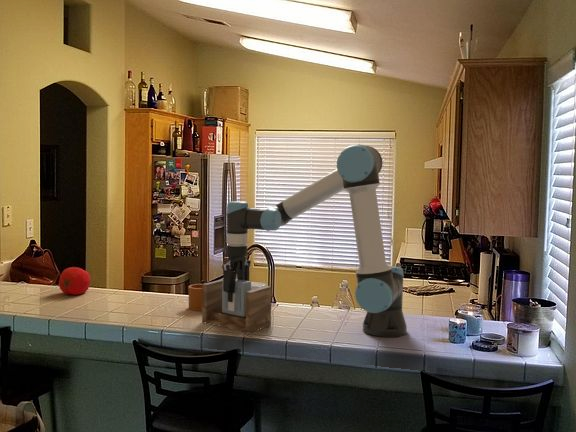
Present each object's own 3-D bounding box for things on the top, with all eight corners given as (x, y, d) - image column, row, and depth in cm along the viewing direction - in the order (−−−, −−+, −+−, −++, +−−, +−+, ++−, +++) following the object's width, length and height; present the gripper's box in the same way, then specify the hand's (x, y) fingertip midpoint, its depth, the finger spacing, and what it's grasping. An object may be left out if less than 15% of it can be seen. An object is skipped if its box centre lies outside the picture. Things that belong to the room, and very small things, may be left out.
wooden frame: (270, 325, 210) (271, 286, 209) (250, 332, 201) (250, 292, 199) (223, 315, 223) (223, 278, 221) (202, 322, 213) (202, 284, 212)
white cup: (263, 312, 228) (263, 286, 227) (243, 310, 230) (244, 285, 229) (268, 307, 236) (268, 282, 235) (249, 306, 237) (249, 281, 237)
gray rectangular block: (250, 314, 210) (251, 281, 209) (243, 317, 207) (243, 283, 206) (229, 310, 216) (229, 277, 215) (221, 312, 212) (221, 279, 211)
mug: (213, 312, 227) (213, 289, 226) (184, 310, 230) (184, 287, 229) (222, 306, 235) (221, 284, 234) (194, 304, 238) (193, 283, 237)
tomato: (80, 297, 261) (61, 304, 249) (66, 272, 262) (46, 278, 249) (101, 283, 258) (82, 290, 245) (86, 258, 258) (67, 264, 246)
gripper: (243, 241, 218) (243, 303, 220) (212, 246, 204) (212, 312, 206) (260, 243, 214) (259, 306, 216) (229, 248, 200) (228, 315, 202)
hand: (236, 309), depth 211 cm, fingers closed on gray rectangular block, 4 cm apart
